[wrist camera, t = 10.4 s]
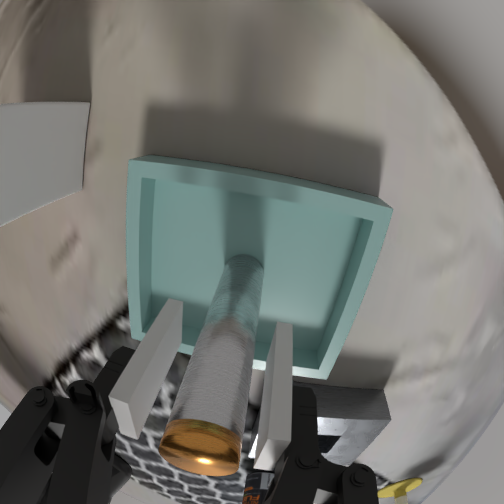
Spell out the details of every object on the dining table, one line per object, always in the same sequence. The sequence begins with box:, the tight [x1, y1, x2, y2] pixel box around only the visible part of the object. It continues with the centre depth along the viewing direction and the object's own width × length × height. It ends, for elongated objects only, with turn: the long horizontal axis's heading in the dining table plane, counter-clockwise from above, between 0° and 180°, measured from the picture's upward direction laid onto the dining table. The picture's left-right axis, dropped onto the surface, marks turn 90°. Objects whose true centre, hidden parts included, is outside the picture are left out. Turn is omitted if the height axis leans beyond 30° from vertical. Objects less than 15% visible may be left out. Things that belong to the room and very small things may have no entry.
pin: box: [159, 254, 264, 476], centre depth 14 cm, size 3×3×14 cm
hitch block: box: [248, 381, 391, 465], centre depth 26 cm, size 12×10×4 cm
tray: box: [126, 155, 393, 380], centre depth 20 cm, size 16×14×3 cm
